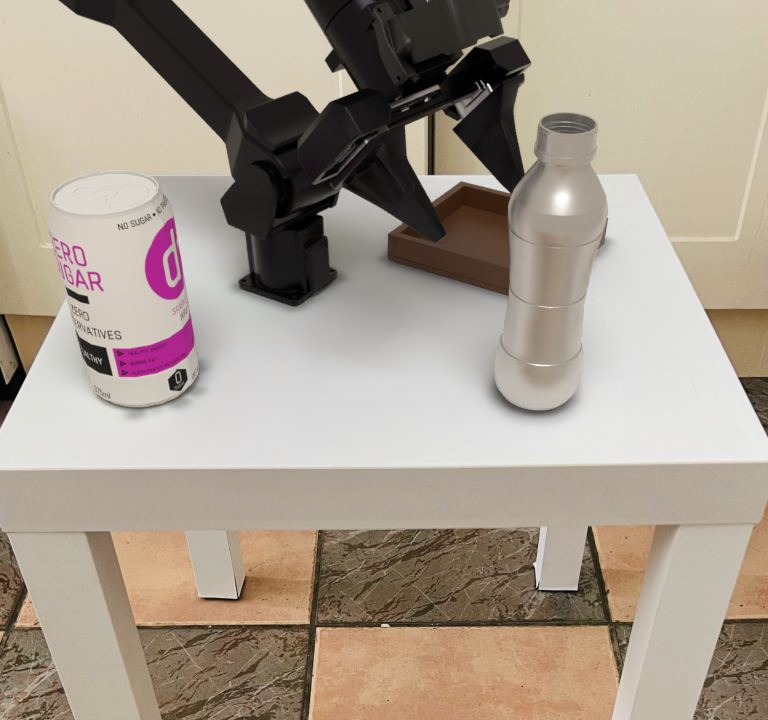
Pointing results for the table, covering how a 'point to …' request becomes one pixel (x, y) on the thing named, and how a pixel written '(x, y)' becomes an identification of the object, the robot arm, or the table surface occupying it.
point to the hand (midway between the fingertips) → (483, 216)
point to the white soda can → (124, 286)
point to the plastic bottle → (551, 264)
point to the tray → (464, 238)
